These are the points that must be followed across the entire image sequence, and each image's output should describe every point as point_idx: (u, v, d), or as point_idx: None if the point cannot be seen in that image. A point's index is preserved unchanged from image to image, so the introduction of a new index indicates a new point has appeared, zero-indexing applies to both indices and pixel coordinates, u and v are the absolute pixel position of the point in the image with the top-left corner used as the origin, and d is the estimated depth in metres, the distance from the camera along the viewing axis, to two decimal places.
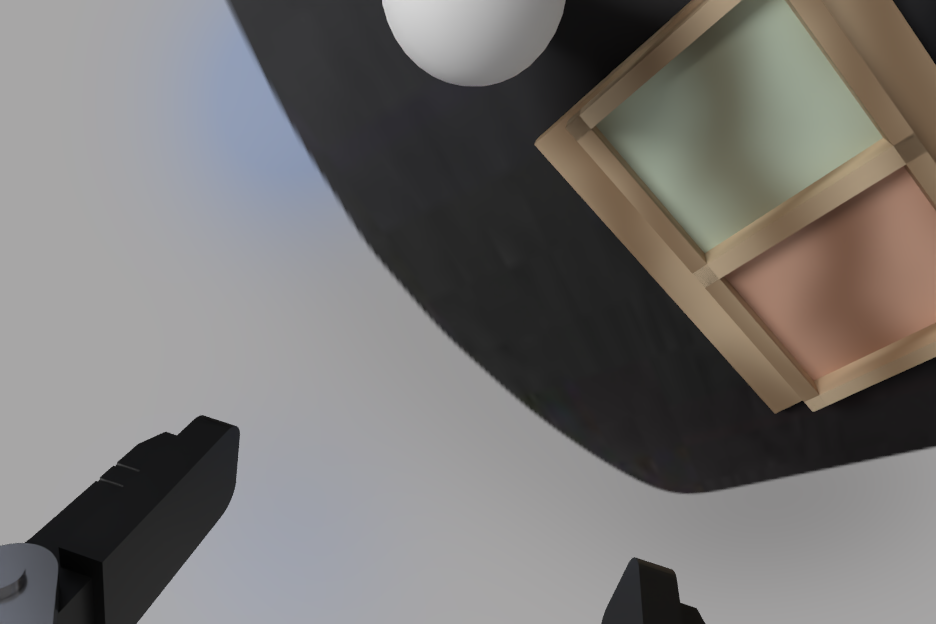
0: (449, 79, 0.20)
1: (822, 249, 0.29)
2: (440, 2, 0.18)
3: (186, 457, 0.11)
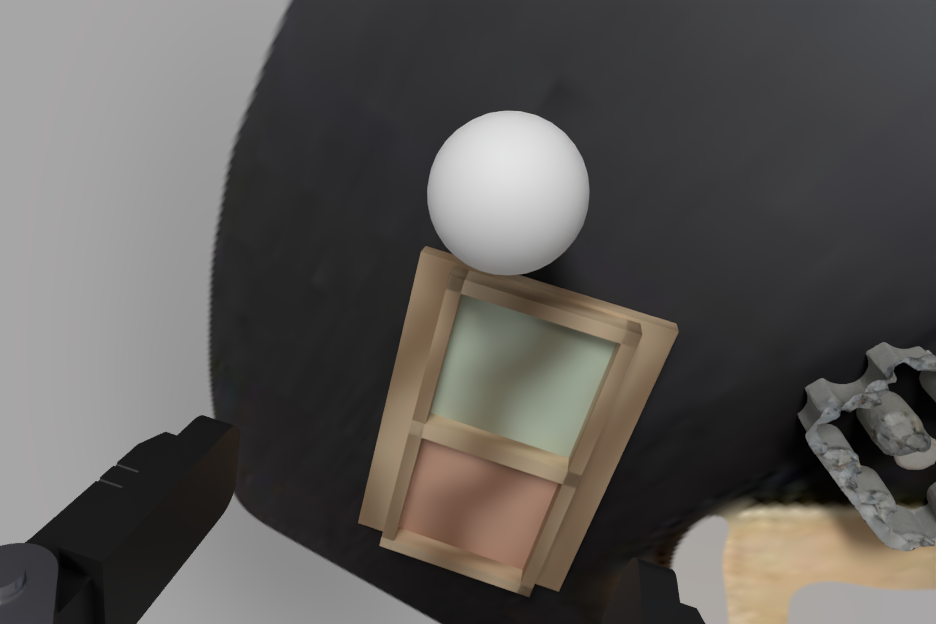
0: (434, 225, 0.23)
1: (483, 474, 0.37)
2: (486, 210, 0.21)
3: (186, 457, 0.11)
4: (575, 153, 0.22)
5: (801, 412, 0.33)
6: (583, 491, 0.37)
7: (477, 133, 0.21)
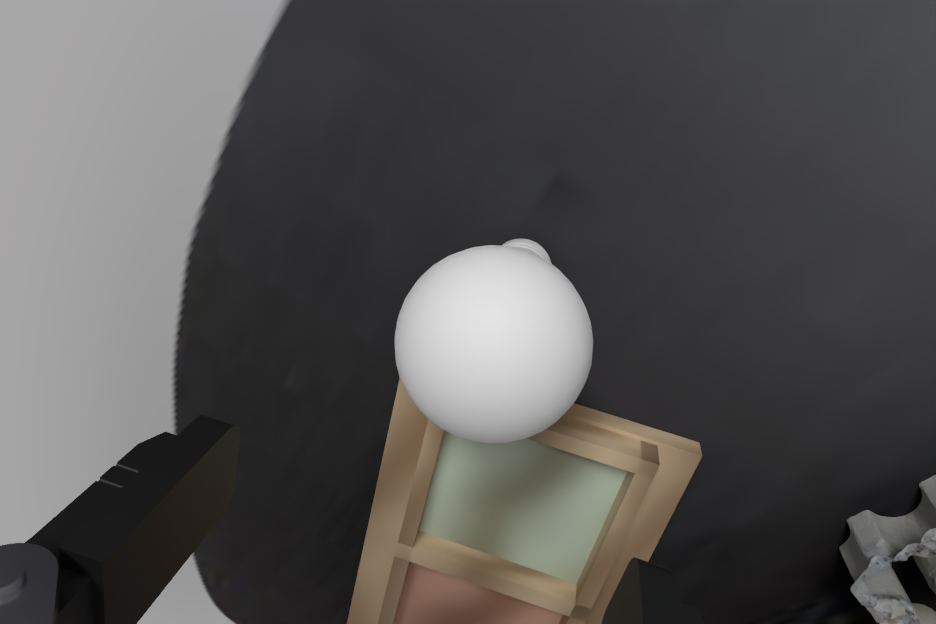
0: None
1: (480, 596, 0.33)
2: (462, 387, 0.16)
3: (186, 457, 0.11)
4: (574, 304, 0.17)
5: (843, 546, 0.29)
6: (593, 618, 0.32)
7: (450, 285, 0.17)
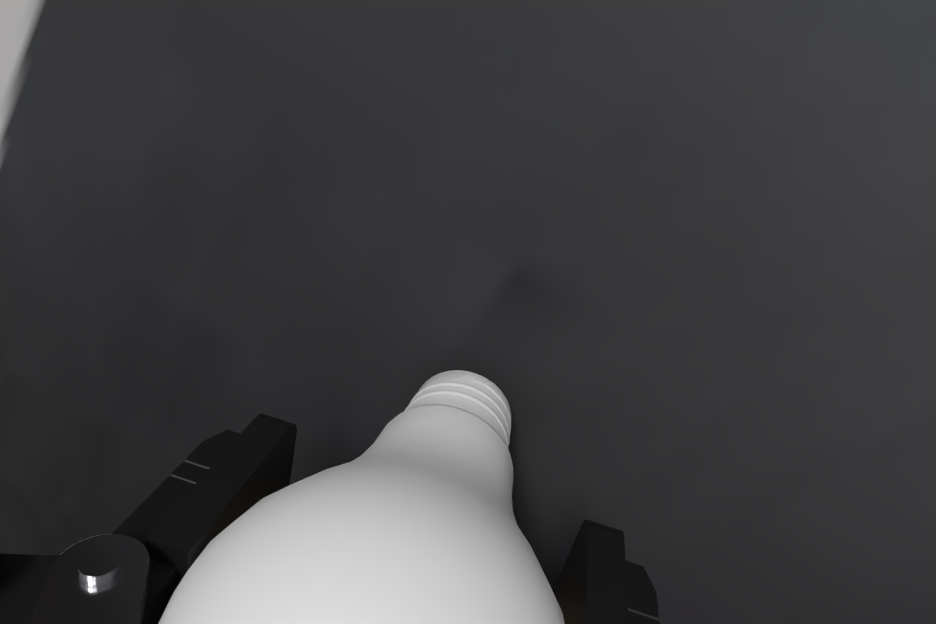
0: None
1: None
2: None
3: (252, 454, 0.11)
4: None
5: None
6: None
7: None
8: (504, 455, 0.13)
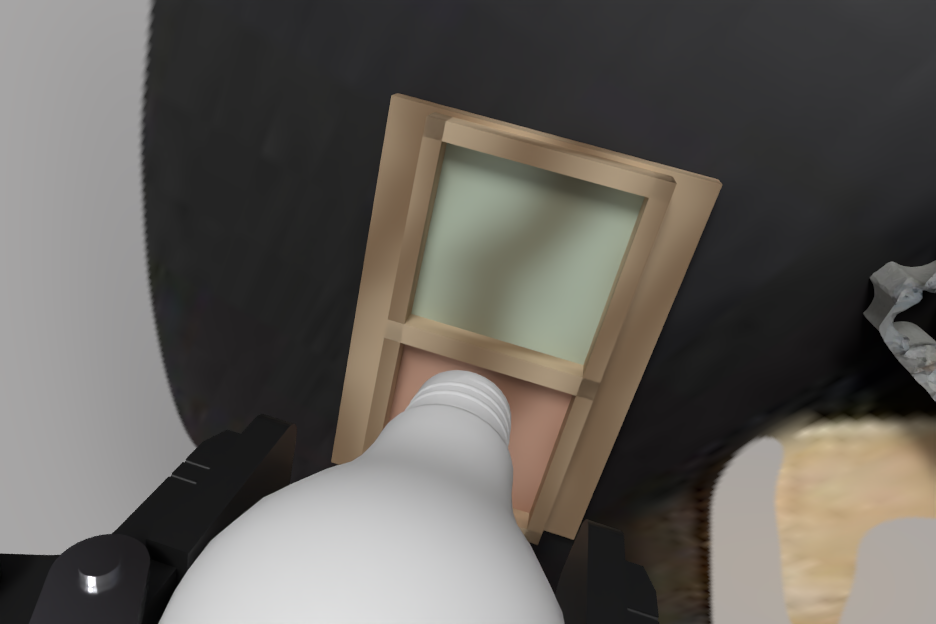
0: None
1: None
2: None
3: (253, 454, 0.11)
4: None
5: (868, 309, 0.26)
6: (601, 409, 0.30)
7: None
8: (504, 455, 0.13)
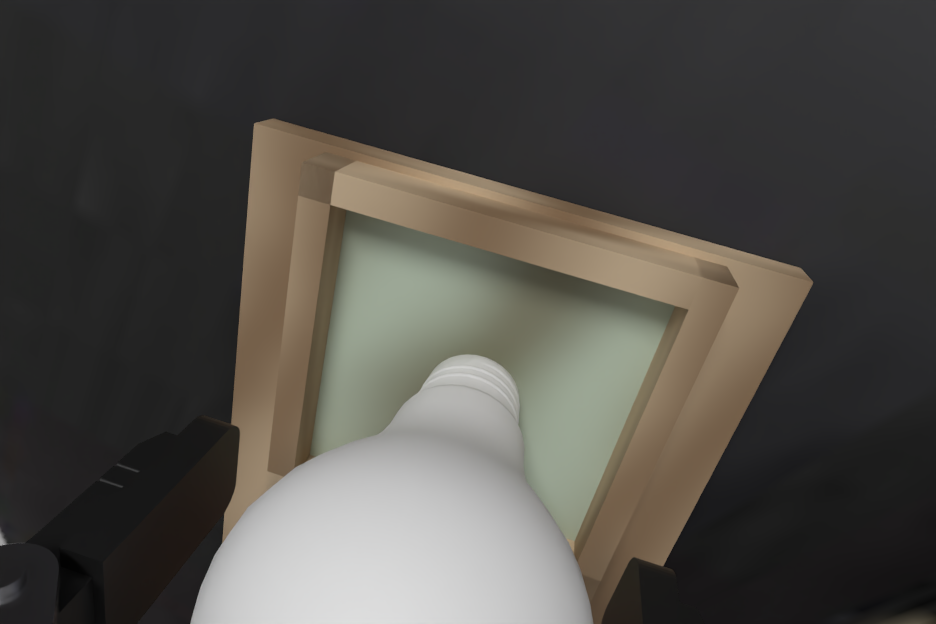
0: None
1: None
2: None
3: (186, 457, 0.11)
4: (557, 601, 0.08)
5: None
6: (602, 600, 0.19)
7: (276, 587, 0.07)
8: (516, 432, 0.13)
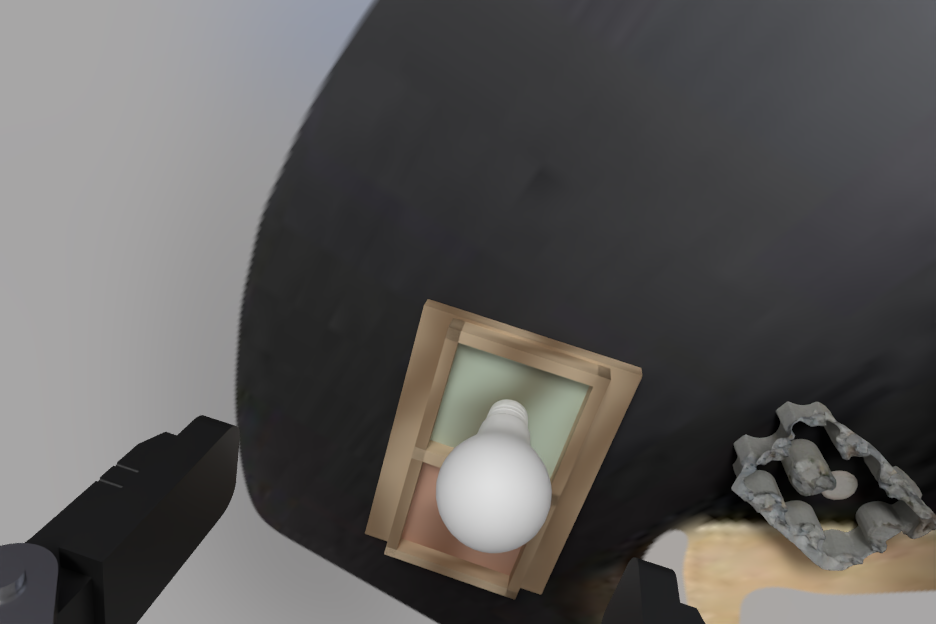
0: (441, 517, 0.32)
1: None
2: (478, 529, 0.30)
3: (186, 457, 0.11)
4: (541, 477, 0.31)
5: (735, 463, 0.39)
6: (562, 509, 0.42)
7: (472, 470, 0.30)
8: (528, 431, 0.36)
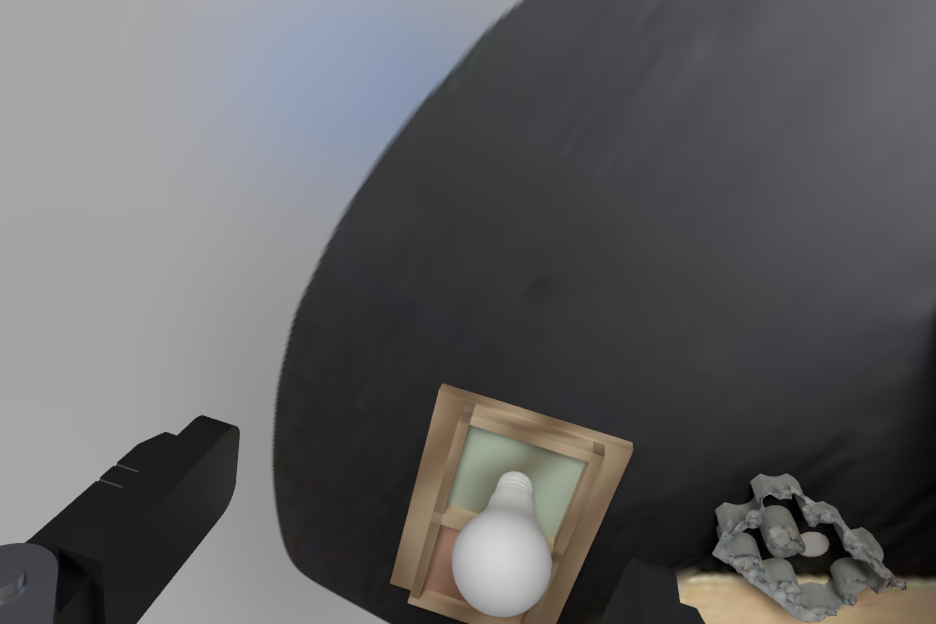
0: None
1: None
2: (488, 599, 0.35)
3: (186, 457, 0.11)
4: (541, 551, 0.36)
5: (718, 527, 0.44)
6: (566, 563, 0.47)
7: (482, 547, 0.35)
8: (532, 503, 0.41)
